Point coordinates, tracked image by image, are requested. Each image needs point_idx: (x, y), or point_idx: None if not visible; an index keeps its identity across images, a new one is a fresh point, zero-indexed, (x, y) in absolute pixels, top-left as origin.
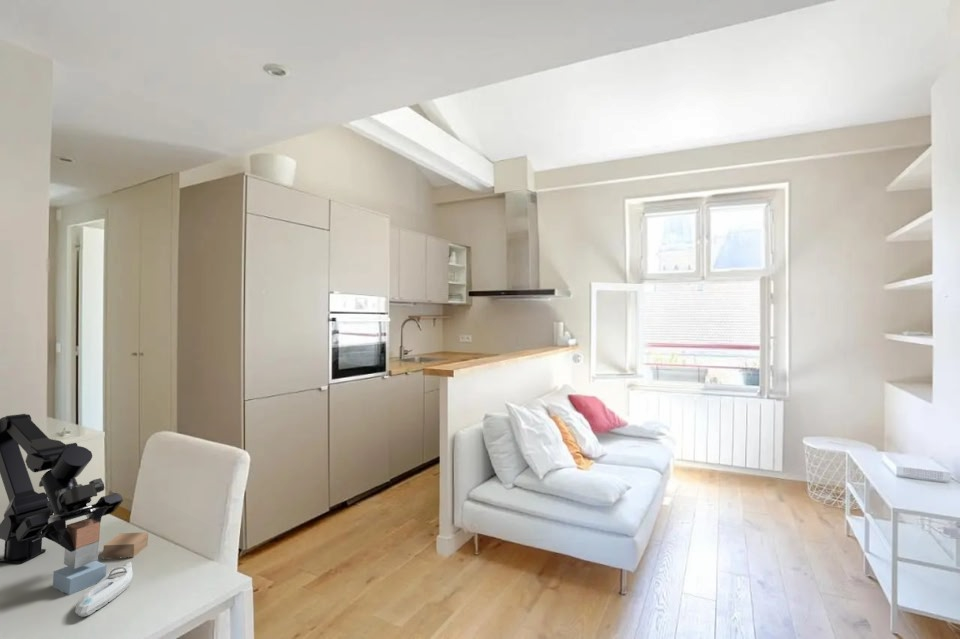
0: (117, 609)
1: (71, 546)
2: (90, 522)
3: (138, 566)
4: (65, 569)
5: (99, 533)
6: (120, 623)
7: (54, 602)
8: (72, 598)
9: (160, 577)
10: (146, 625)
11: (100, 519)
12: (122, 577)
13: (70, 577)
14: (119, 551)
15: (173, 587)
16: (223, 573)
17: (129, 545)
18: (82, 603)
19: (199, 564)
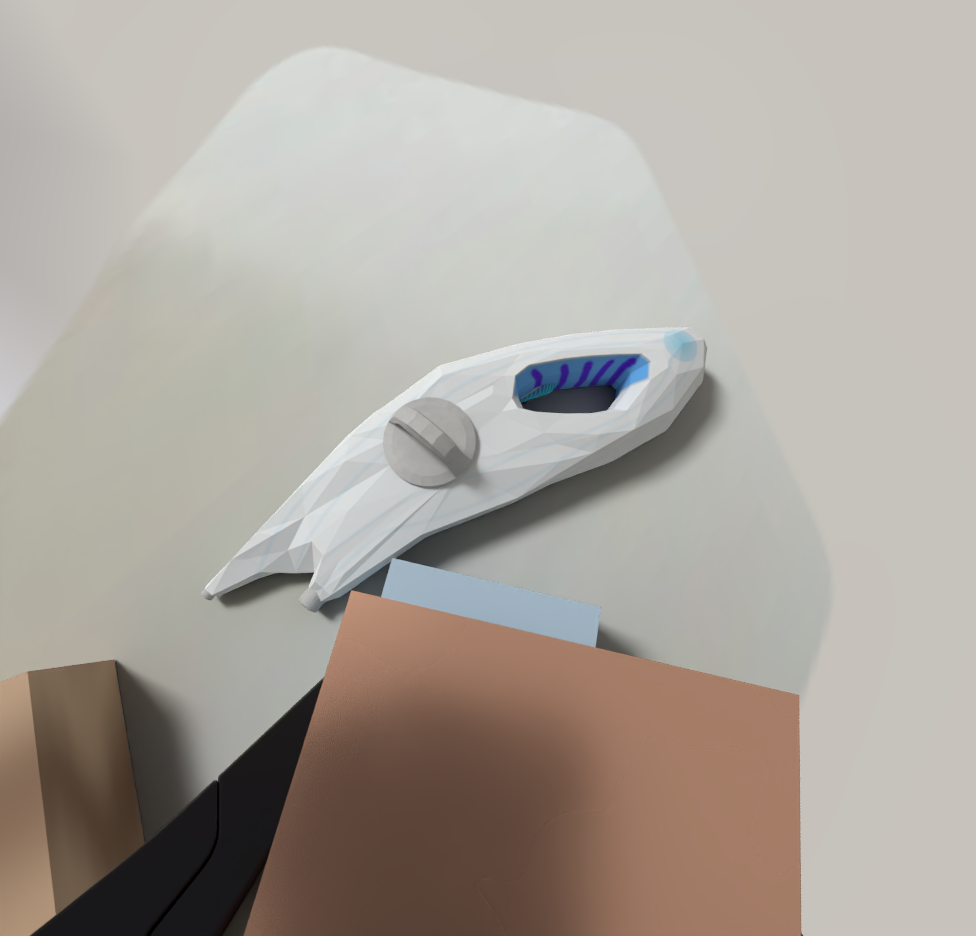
0: (583, 303)
1: None
2: (431, 805)
3: (230, 522)
4: None
5: (316, 685)
6: (640, 231)
7: (641, 613)
8: (587, 561)
9: (326, 325)
10: (617, 156)
11: (64, 920)
12: (464, 372)
13: (585, 631)
14: (90, 776)
15: (392, 222)
16: (250, 119)
17: (42, 707)
18: (692, 360)
19: (177, 245)
